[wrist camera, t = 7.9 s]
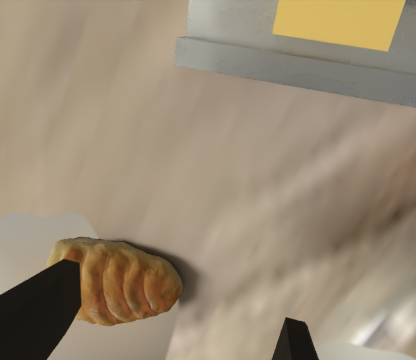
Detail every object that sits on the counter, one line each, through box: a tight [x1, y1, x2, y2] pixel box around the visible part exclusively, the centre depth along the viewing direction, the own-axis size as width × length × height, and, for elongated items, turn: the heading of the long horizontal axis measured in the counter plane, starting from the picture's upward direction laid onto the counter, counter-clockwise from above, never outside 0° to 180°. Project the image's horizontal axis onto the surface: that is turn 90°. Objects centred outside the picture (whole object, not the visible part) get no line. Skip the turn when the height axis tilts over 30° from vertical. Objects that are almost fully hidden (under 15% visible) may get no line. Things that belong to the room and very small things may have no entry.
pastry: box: [47, 237, 183, 326], centre depth 23 cm, size 9×7×4 cm
